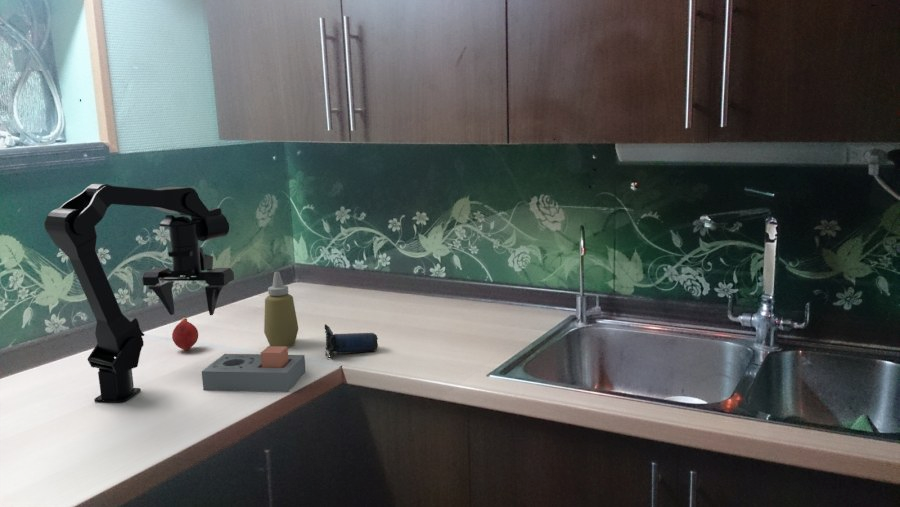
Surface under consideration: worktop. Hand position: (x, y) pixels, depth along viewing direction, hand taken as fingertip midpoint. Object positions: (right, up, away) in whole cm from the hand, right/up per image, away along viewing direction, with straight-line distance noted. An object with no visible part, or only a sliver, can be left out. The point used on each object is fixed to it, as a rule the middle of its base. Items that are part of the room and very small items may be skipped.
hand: (192, 314), depth 165 cm
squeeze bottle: (+16, -9, +16) cm, 25 cm away
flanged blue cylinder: (+34, -10, +9) cm, 36 cm away
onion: (-6, -10, +14) cm, 18 cm away
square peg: (+21, -13, -8) cm, 26 cm away
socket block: (+16, -13, -8) cm, 22 cm away
